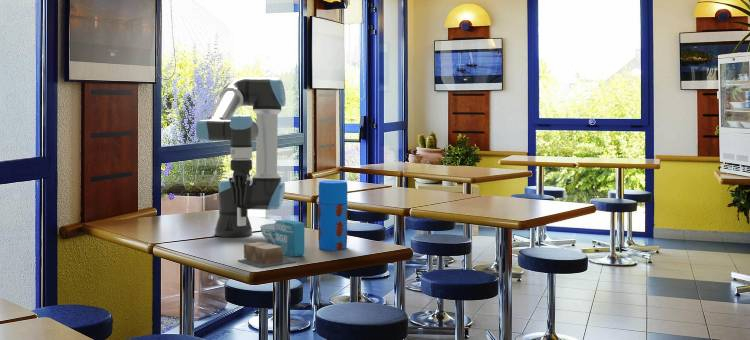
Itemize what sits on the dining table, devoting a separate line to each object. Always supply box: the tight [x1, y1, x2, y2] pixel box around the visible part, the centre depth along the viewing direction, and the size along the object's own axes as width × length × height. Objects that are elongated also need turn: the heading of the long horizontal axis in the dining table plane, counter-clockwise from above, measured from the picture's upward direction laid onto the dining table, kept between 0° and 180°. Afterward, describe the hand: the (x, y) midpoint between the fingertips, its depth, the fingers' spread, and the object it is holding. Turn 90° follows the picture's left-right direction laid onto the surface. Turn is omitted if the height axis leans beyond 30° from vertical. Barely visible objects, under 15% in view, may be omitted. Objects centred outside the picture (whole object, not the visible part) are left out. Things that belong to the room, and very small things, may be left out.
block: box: [243, 241, 284, 264], centre depth 262 cm, size 5×7×13 cm
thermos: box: [318, 180, 348, 252], centre depth 287 cm, size 11×11×25 cm
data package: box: [274, 219, 306, 258], centre depth 274 cm, size 12×4×12 cm, turn 43°
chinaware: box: [260, 222, 275, 245], centre depth 291 cm, size 15×15×8 cm
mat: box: [237, 257, 297, 269], centre depth 261 cm, size 14×14×1 cm
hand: (241, 225), depth 272 cm, fingers closed
